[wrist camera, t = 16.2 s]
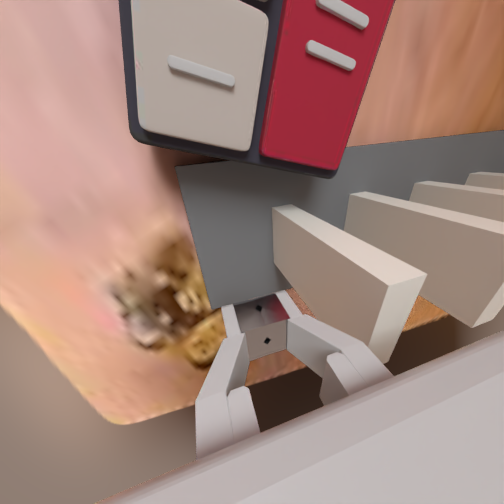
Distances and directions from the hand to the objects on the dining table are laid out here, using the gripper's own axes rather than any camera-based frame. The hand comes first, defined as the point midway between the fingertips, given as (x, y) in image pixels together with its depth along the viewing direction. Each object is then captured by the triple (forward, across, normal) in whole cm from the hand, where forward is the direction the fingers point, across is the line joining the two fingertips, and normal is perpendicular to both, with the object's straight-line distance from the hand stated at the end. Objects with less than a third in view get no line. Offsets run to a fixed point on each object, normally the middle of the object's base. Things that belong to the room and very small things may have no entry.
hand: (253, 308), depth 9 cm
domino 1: (+7, -5, 0) cm, 9 cm away
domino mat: (+8, -19, 0) cm, 20 cm away
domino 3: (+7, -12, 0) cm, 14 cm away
